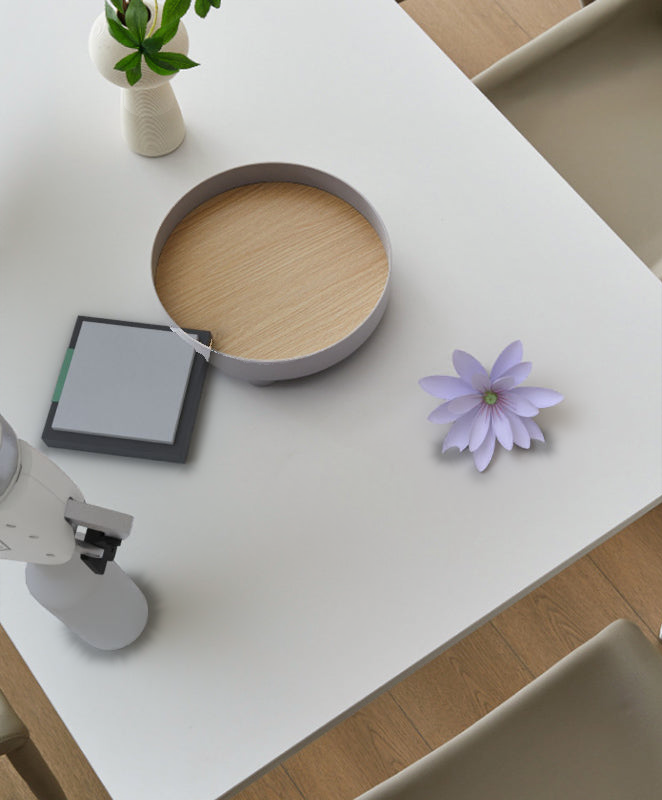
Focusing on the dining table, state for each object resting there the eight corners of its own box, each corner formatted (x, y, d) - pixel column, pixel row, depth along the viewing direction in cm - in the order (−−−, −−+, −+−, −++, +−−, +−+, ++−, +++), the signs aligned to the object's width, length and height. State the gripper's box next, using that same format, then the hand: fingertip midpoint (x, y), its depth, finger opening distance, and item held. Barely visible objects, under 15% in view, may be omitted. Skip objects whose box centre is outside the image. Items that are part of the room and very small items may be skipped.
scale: (48, 448, 102) (38, 435, 99) (84, 327, 108) (75, 311, 105) (185, 465, 101) (179, 452, 98) (214, 342, 107) (209, 327, 104)
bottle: (102, 666, 93) (-4, 587, 68) (64, 610, 95) (-52, 513, 70) (163, 621, 95) (82, 528, 69) (125, 567, 97) (33, 457, 72)
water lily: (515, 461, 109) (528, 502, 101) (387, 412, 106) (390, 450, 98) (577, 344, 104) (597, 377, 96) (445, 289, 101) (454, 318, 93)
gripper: (-227, 499, 56) (-95, 581, 72) (78, 538, 56) (145, 612, 71) (-177, 379, 60) (-61, 482, 75) (111, 415, 59) (168, 511, 74)
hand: (39, 545), depth 73 cm, fingers open, 9 cm apart
